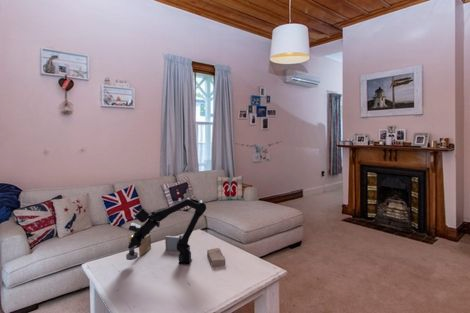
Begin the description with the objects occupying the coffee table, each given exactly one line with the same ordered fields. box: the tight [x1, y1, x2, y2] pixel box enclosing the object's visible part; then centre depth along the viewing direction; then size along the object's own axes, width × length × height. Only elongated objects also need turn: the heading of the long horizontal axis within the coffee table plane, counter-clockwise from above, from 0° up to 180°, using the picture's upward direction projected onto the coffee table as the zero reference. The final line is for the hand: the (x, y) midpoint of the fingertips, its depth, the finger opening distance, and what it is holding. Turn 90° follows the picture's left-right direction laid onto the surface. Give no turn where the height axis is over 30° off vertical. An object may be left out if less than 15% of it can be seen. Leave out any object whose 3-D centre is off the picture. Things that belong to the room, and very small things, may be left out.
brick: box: [206, 247, 226, 268], centre depth 172 cm, size 17×8×5 cm, turn 16°
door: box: [138, 233, 152, 257], centre depth 184 cm, size 1×13×10 cm, turn 167°
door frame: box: [164, 235, 179, 252], centre depth 189 cm, size 25×2×9 cm, turn 77°
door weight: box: [125, 235, 139, 261], centre depth 165 cm, size 6×6×13 cm
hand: (129, 246), depth 165 cm, fingers closed on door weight, 3 cm apart
